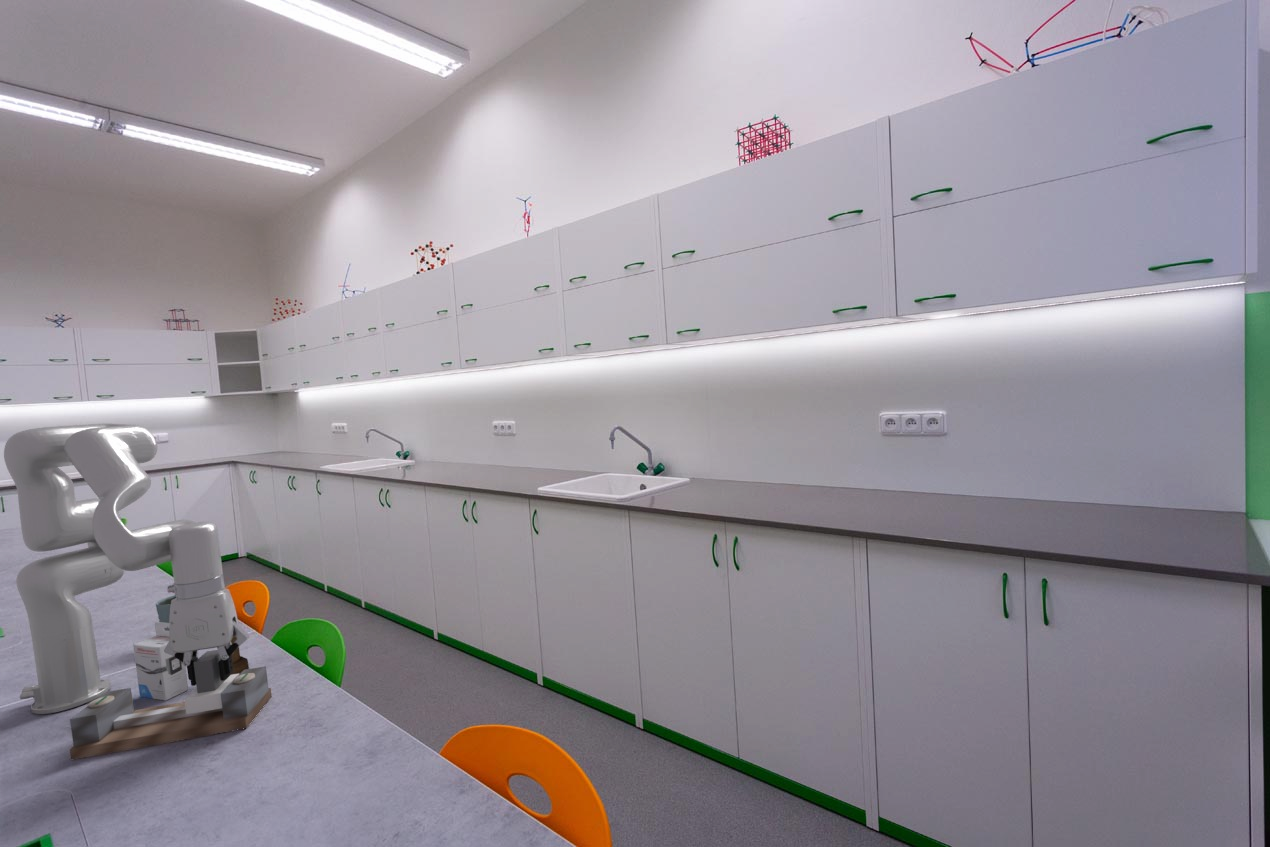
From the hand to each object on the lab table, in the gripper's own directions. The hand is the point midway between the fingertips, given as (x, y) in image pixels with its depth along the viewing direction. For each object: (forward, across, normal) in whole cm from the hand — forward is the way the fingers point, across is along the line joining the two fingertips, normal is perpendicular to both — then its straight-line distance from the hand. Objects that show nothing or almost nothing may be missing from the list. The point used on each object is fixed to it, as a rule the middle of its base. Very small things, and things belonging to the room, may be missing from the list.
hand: (211, 678), depth 114 cm
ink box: (+8, -18, +17) cm, 26 cm away
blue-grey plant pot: (+8, -28, +49) cm, 57 cm away
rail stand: (+8, -6, 0) cm, 10 cm away
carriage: (+4, 0, 0) cm, 4 cm away
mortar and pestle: (+8, -6, +22) cm, 24 cm away
